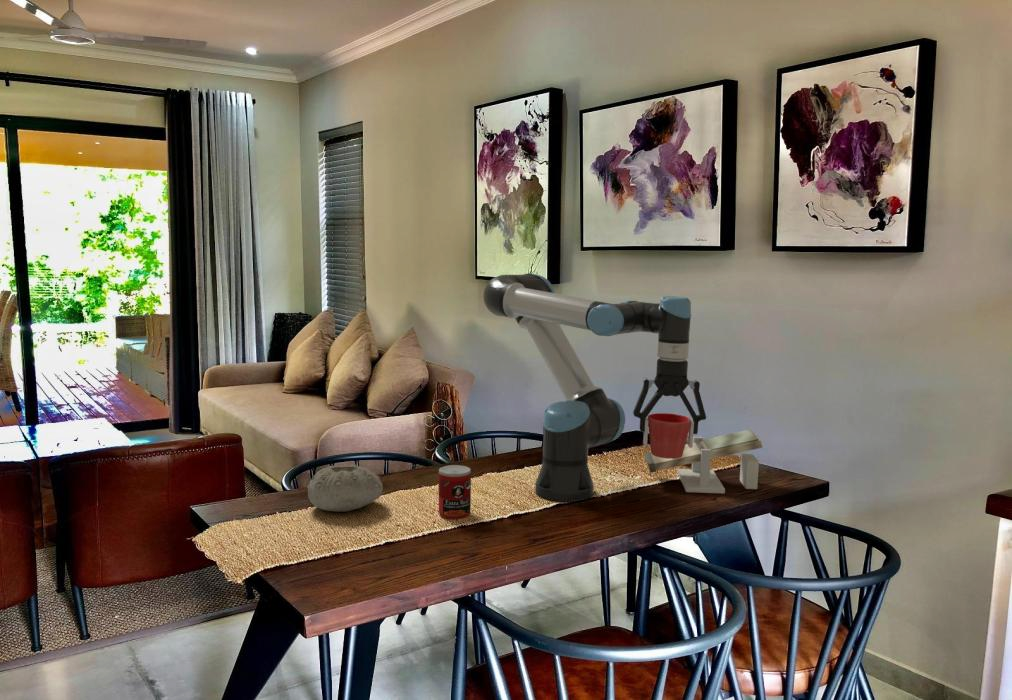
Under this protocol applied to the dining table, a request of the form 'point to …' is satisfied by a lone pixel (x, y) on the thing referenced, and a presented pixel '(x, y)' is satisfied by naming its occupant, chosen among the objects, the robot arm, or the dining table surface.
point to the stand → (707, 480)
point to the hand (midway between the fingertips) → (667, 445)
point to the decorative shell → (344, 488)
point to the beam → (717, 445)
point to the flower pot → (668, 434)
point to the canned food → (454, 491)
